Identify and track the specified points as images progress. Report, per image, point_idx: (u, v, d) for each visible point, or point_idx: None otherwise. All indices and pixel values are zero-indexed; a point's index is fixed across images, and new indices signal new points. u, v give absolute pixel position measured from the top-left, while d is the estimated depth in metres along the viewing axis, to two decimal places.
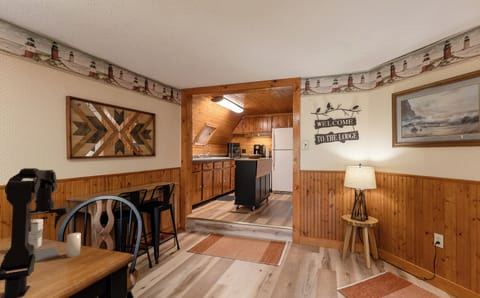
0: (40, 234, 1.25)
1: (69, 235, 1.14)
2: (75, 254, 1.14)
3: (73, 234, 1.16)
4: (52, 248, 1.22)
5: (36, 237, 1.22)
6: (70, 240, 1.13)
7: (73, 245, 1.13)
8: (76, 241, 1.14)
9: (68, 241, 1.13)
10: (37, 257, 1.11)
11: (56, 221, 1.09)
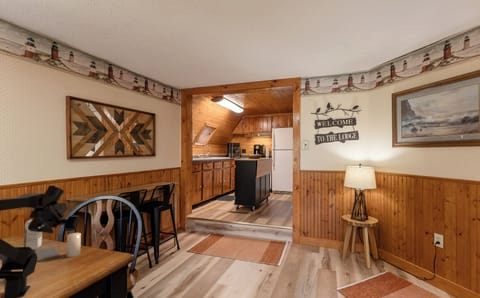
0: (40, 234, 1.25)
1: (69, 235, 1.14)
2: (75, 254, 1.14)
3: (73, 234, 1.16)
4: (52, 248, 1.22)
5: (36, 237, 1.22)
6: (70, 240, 1.13)
7: (73, 245, 1.13)
8: (76, 241, 1.14)
9: (68, 241, 1.13)
10: (37, 257, 1.11)
11: (70, 231, 1.04)
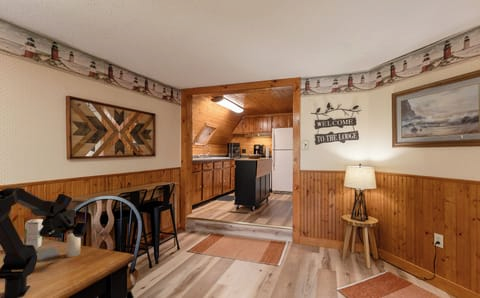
0: None
1: (69, 235, 1.14)
2: (75, 254, 1.14)
3: None
4: (52, 248, 1.22)
5: (36, 237, 1.22)
6: (70, 240, 1.13)
7: (73, 245, 1.13)
8: (76, 241, 1.14)
9: (68, 241, 1.13)
10: (37, 257, 1.11)
11: (78, 237, 1.10)
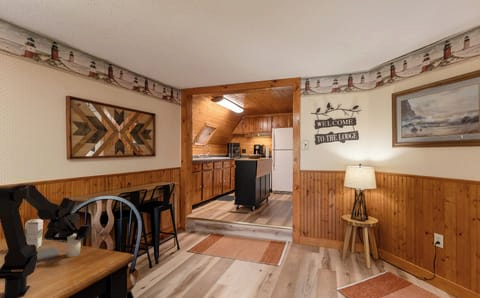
0: (40, 234, 1.25)
1: None
2: (75, 254, 1.14)
3: (73, 234, 1.16)
4: (52, 248, 1.22)
5: (36, 237, 1.22)
6: (70, 240, 1.13)
7: (73, 245, 1.13)
8: (76, 241, 1.14)
9: (68, 241, 1.13)
10: (37, 257, 1.11)
11: (78, 240, 1.13)
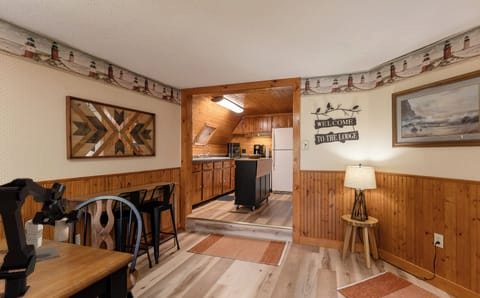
0: (40, 234, 1.25)
1: None
2: (64, 238, 1.15)
3: None
4: (52, 248, 1.22)
5: (36, 237, 1.22)
6: (59, 225, 1.14)
7: (62, 230, 1.14)
8: (65, 225, 1.15)
9: (57, 226, 1.14)
10: (37, 257, 1.11)
11: (68, 224, 1.15)
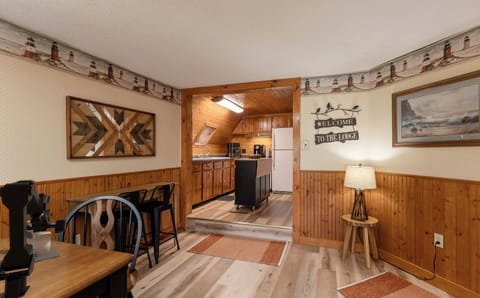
0: None
1: (39, 234, 1.13)
2: (47, 252, 1.14)
3: (42, 233, 1.15)
4: (52, 248, 1.22)
5: None
6: (41, 239, 1.13)
7: (45, 244, 1.14)
8: (47, 239, 1.15)
9: (39, 240, 1.12)
10: (37, 257, 1.11)
11: (56, 234, 1.15)
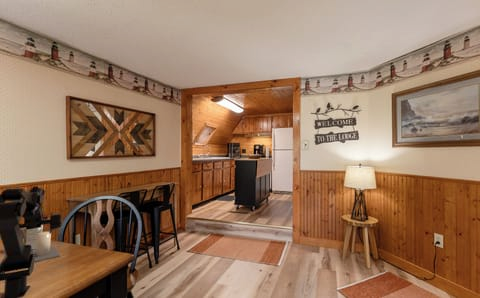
0: None
1: (39, 234, 1.13)
2: (47, 252, 1.14)
3: (42, 233, 1.15)
4: (52, 248, 1.22)
5: None
6: (42, 239, 1.13)
7: (45, 243, 1.14)
8: (48, 239, 1.15)
9: (39, 240, 1.12)
10: (37, 257, 1.11)
11: (51, 230, 1.07)
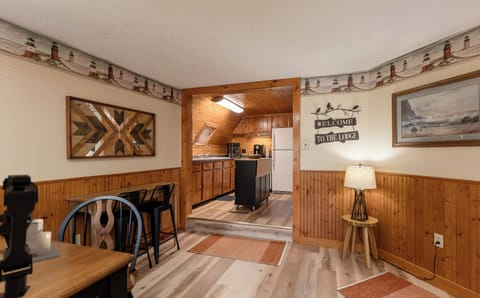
0: None
1: (39, 234, 1.13)
2: (47, 252, 1.14)
3: (42, 233, 1.15)
4: (52, 248, 1.22)
5: None
6: (42, 239, 1.13)
7: (45, 243, 1.14)
8: (48, 239, 1.15)
9: (39, 240, 1.13)
10: (37, 257, 1.11)
11: (27, 229, 1.00)
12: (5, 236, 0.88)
